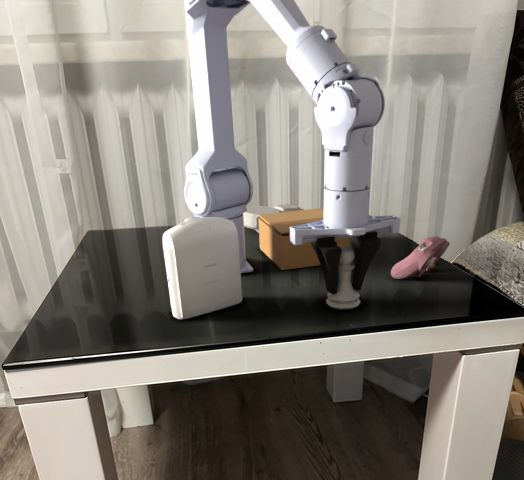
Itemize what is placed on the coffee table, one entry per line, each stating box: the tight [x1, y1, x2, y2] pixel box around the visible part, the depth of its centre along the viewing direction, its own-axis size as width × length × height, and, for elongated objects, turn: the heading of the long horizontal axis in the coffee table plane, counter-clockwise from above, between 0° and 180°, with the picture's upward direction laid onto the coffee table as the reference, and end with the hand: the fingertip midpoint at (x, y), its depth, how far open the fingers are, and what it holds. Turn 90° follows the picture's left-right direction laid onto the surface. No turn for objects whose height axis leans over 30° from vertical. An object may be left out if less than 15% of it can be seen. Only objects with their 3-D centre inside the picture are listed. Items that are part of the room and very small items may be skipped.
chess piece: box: [325, 247, 361, 311], centre depth 72 cm, size 5×5×8 cm
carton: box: [258, 217, 350, 271], centre depth 93 cm, size 15×13×6 cm
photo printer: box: [162, 217, 243, 320], centre depth 71 cm, size 10×4×12 cm, turn 123°
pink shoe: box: [390, 234, 451, 280], centre depth 83 cm, size 10×5×7 cm, turn 143°
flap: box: [259, 207, 324, 224], centre depth 95 cm, size 15×6×1 cm, turn 106°
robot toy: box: [243, 203, 305, 234], centre depth 110 cm, size 12×4×15 cm
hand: (343, 289), depth 73 cm, fingers closed on chess piece, 3 cm apart
